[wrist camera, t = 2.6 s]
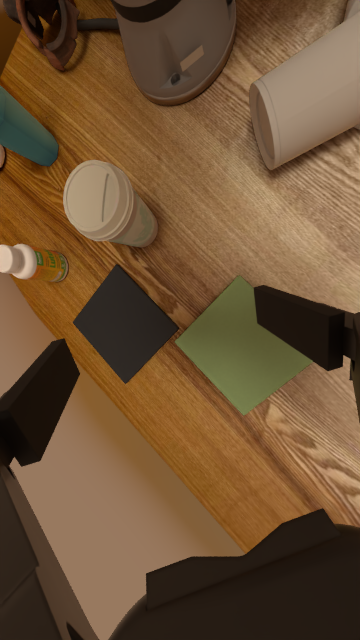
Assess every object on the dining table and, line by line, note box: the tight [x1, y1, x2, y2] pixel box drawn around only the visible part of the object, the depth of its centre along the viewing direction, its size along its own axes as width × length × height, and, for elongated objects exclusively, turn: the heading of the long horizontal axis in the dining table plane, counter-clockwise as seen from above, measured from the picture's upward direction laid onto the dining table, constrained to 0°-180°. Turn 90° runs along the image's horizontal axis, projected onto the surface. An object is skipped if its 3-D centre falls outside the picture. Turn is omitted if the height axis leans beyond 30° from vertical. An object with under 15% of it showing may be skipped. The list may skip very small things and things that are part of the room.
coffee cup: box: [63, 160, 158, 247], centre depth 30 cm, size 8×8×12 cm
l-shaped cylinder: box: [249, 0, 360, 170], centre depth 22 cm, size 18×11×20 cm
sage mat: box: [175, 275, 313, 416], centre depth 32 cm, size 15×14×1 cm
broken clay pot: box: [3, 0, 79, 70], centre depth 35 cm, size 12×10×8 cm
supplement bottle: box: [0, 244, 68, 282], centre depth 37 cm, size 5×5×10 cm
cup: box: [0, 86, 59, 166], centre depth 33 cm, size 14×8×15 cm, turn 144°
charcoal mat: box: [73, 264, 179, 384], centre depth 38 cm, size 15×14×1 cm
